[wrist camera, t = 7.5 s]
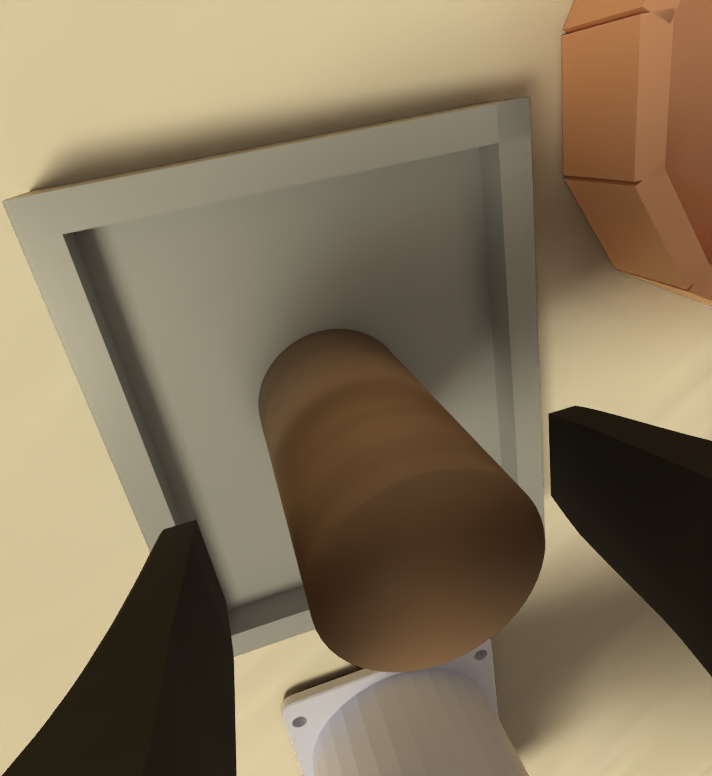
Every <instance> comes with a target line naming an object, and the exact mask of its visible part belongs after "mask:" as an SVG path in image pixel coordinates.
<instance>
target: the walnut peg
mask: <svg viewBox="0 0 712 776" xmlns="http://www.w3.org/2000/svg"><path fill="white" fill-rule="evenodd" d="M258 408H259V416H260V421H261V425H262V429H263V433H264V437H265V440H266V444H267V448H268V452H269V456H270V460H271V464H272V468H273V471H274V475H275V479H276V483H277V487H278V491H279V495H280V498H281V502H282V506H283V510H284V514H285V518H286V522H287V526H288V529H289V533H290V537H291V541H292V545H293V549H294V553H295V557H296V560H297V564H298V568H299V572H300V576H301V580H302V584H303V587H304V591H305V595H306V599H307V603H308V607H309V611H310V615H311V618H312V621H313V624H314V626H315V629H316V631H317V633H318V634H319V636H320V638H321V640H322V641H323V642H324V643H325V644H326V645H327V647H328V648H329V649H330V650H331V651H333V652H334V653H335V654H336V655H337V656H339V657H340V658H342V659H344V660H345V661H347V662H349V663H351V664H354V665H356V666H359V667H361V668H365V669H369V670H373V671H380V672H410V671H417V670H422V669H427V668H431V667H434V666H438V665H441V664H444V663H447V662H449V661H452V660H454V659H456V658H459V657H461V656H463V655H464V654H466V653H468V652H470V651H472V650H474V649H475V648H477V647H478V646H480V645H482V644H483V643H485V642H486V641H487V640H489V639H490V638H491V637H492V636H494V635H495V634H496V633H497V632H498V631H500V630H501V629H502V628H503V627H504V626H505V625H506V624H507V623H508V622H509V621H510V620H511V619H512V618H513V617H514V616H515V614H516V613H517V612H518V611H519V609H520V608H521V607H522V605H523V604H524V603H525V601H526V600H527V598H528V596H529V595H530V593H531V591H532V590H533V587H534V585H535V583H536V581H537V579H538V576H539V573H540V570H541V567H542V563H543V558H544V553H545V533H544V527H543V523H542V519H541V516H540V514H539V512H538V510H537V507H536V506H535V504H534V503H533V501H532V500H531V499H530V497H529V496H528V495H527V494H526V493H525V492H524V491H523V490H522V489H521V488H520V487H519V485H518V484H517V483H516V482H515V481H514V480H513V479H512V478H511V477H510V476H509V475H508V474H507V473H506V472H505V471H504V470H503V469H502V468H501V467H500V466H499V465H498V463H497V462H496V461H495V460H494V459H493V458H492V457H491V456H490V455H489V454H488V453H487V452H486V451H485V450H484V449H483V448H482V447H481V446H480V445H479V444H478V443H477V441H476V440H475V439H474V438H473V437H472V436H471V435H470V434H469V433H468V432H467V431H466V430H465V429H464V428H463V427H462V426H461V425H460V424H459V423H458V422H457V421H456V419H455V418H454V417H453V416H452V415H451V414H450V413H449V412H448V411H447V410H446V409H445V408H444V407H443V406H442V405H441V404H440V403H439V402H438V401H437V400H436V399H435V397H434V396H433V395H432V394H431V393H430V392H429V391H428V390H427V389H426V388H425V387H424V386H423V385H422V384H421V383H420V382H419V381H418V380H417V379H416V378H415V377H414V375H413V374H412V373H411V372H410V371H409V370H408V369H407V368H406V367H405V366H404V365H403V364H402V363H401V362H400V361H399V360H398V359H397V358H396V357H395V356H394V355H393V353H392V352H391V351H390V350H389V349H388V348H387V347H386V346H385V345H384V344H382V343H381V342H379V341H378V340H377V339H375V338H373V337H371V336H369V335H367V334H365V333H362V332H359V331H354V330H349V329H329V330H323V331H318V332H315V333H312V334H309V335H307V336H305V337H303V338H300V339H299V340H297V341H296V342H294V343H292V344H291V345H290V346H288V347H287V348H286V349H285V350H283V351H282V352H281V353H280V354H279V355H278V356H277V358H276V359H275V360H274V361H273V363H272V364H271V365H270V367H269V369H268V371H267V372H266V374H265V376H264V379H263V381H262V384H261V388H260V392H259V400H258Z"/></svg>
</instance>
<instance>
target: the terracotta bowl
mask: <svg viewBox="0 0 712 776" xmlns="http://www.w3.org/2000/svg"><path fill="white" fill-rule="evenodd" d="M563 30H564V31H566V32H568V33H569V34H566V35H562V90H563V173H564V175H568V177H567V178H566V179H565V181H566V183H567V185H568V186H569V188H570V190H571V192H572V193H573V195H574V197H575V199H576V201H577V202H578V204H579V206H580V208H581V209H582V211H583V213H584V215H585V216H586V218H587V220H588V222H589V223H590V225H591V227H592V229H593V230H594V232H595V234H596V236H597V237H598V239H599V241H600V243H601V244H602V246H603V248H604V250H605V252H606V253H607V255H608V257H609V259H610V260H611V262H612V264H613V266H614V267H615V268H617V269H618V271H621V272H623V273H626V274H629V275H631V276H634V277H636V278H639V279H641V280H644V281H647V282H649V283H652V284H654V285H657V286H659V287H662V288H665V289H667V290H670V291H672V292H675V293H677V294H680V295H683V296H685V297H688V298H690V299H693V300H696V301H699V302H702V303H705V304H708V305H711V306H712V0H575V1H574V3H573V6H572V8H571V11H570V13H569V16H568V18H567V21H566V23H565V26H564V28H563Z"/></svg>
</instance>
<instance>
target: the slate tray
mask: <svg viewBox="0 0 712 776" xmlns="http://www.w3.org/2000/svg"><path fill="white" fill-rule="evenodd" d="M2 203H3V205H4V208H5V210H6V213H7V215H8V217H9V220H10V222H11V224H12V227H13V229H14V231H15V234H16V236H17V239H18V241H19V243H20V246H21V248H22V250H23V253H24V255H25V257H26V260H27V262H28V265H29V267H30V269H31V272H32V274H33V276H34V279H35V281H36V283H37V286H38V288H39V291H40V293H41V295H42V298H43V300H44V302H45V305H46V307H47V309H48V312H49V314H50V317H51V319H52V321H53V324H54V326H55V328H56V331H57V333H58V335H59V338H60V340H61V343H62V345H63V347H64V350H65V352H66V354H67V357H68V359H69V361H70V364H71V366H72V369H73V371H74V373H75V376H76V378H77V380H78V383H79V385H80V387H81V390H82V392H83V395H84V397H85V399H86V402H87V404H88V406H89V409H90V411H91V413H92V416H93V418H94V421H95V423H96V425H97V428H98V430H99V432H100V435H101V437H102V439H103V442H104V444H105V446H106V449H107V451H108V454H109V456H110V458H111V461H112V463H113V465H114V468H115V470H116V472H117V475H118V477H119V480H120V482H121V484H122V487H123V489H124V491H125V494H126V496H127V498H128V501H129V503H130V506H131V508H132V510H133V513H134V515H135V517H136V520H137V522H138V524H139V527H140V529H141V532H142V534H143V536H144V539H145V541H146V543H147V546H148V548H149V550H150V552H151V550H152V548H153V546H154V544H155V543H156V541H157V539H158V537H159V535H160V533H161V532H162V530H163V529H166V528H170V527H173V526H176V525H180V524H183V523H186V522H190V521H193V520H197V523H198V526H199V528H200V531H201V534H202V537H203V539H204V542H205V545H206V548H207V550H208V553H209V556H210V559H211V561H212V564H213V567H214V569H215V572H216V575H217V578H218V580H219V583H220V586H221V589H222V591H223V594H224V597H225V600H226V604H227V610H228V617H229V624H230V630H231V638H232V645H233V654H234V657H235V656H238V655H241V654H244V653H247V652H250V651H252V650H255V649H258V648H261V647H264V646H267V645H270V644H273V643H276V642H279V641H282V640H285V639H287V638H290V637H293V636H296V635H299V634H302V633H305V632H308V631H311V630H314V629H315V626H314V624H313V621H312V618H311V615H310V611H309V607H308V603H307V599H306V595H305V591H304V587H303V584H302V580H301V576H300V572H299V568H298V564H297V560H296V557H295V553H294V549H293V545H292V541H291V537H290V533H289V529H288V526H287V522H286V518H285V514H284V510H283V506H282V502H281V498H280V495H279V491H278V487H277V483H276V479H275V475H274V471H273V468H272V464H271V460H270V456H269V452H268V448H267V444H266V440H265V437H264V433H263V429H262V425H261V421H260V416H259V408H258V400H259V392H260V388H261V384H262V381H263V379H264V376H265V374H266V372H267V371H268V369H269V367H270V365H271V364H272V363H273V361H274V360H275V359H276V358H277V356H278V355H279V354H280V353H281V352H282V351H283V350H285V349H286V348H287V347H288V346H290V345H291V344H292V343H294V342H296V341H297V340H299V339H300V338H303V337H305V336H307V335H309V334H312V333H315V332H318V331H323V330H329V329H349V330H354V331H359V332H362V333H365V334H367V335H369V336H371V337H373V338H375V339H377V340H378V341H379V342H381V343H382V344H384V345H385V346H386V347H387V348H388V349H389V350H390V351H391V352H392V353H393V355H394V356H395V357H396V358H397V359H398V360H399V361H400V362H401V363H402V364H403V365H404V366H405V367H406V368H407V369H408V370H409V371H410V372H411V373H412V374H413V375H414V377H415V378H416V379H417V380H418V381H419V382H420V383H421V384H422V385H423V386H424V387H425V388H426V389H427V390H428V391H429V392H430V393H431V394H432V395H433V396H434V397H435V399H436V400H437V401H438V402H439V403H440V404H441V405H442V406H443V407H444V408H445V409H446V410H447V411H448V412H449V413H450V414H451V415H452V416H453V417H454V418H455V419H456V421H457V422H458V423H459V424H460V425H461V426H462V427H463V428H464V429H465V430H466V431H467V432H468V433H469V434H470V435H471V436H472V437H473V438H474V439H475V440H476V441H477V443H478V444H479V445H480V446H481V447H482V448H483V449H484V450H485V451H486V452H487V453H488V454H489V455H490V456H491V457H492V458H493V459H494V460H495V461H496V462H497V463H498V465H499V466H500V467H501V468H502V469H503V470H504V471H505V472H506V473H507V474H508V475H509V476H510V477H511V478H512V479H513V480H514V481H515V482H516V483H517V484H518V485H519V487H520V488H521V489H522V490H523V491H524V492H525V493H526V494H527V495H528V496H529V497H530V499H531V500H532V501H533V503H534V504H535V506H536V507H537V510H538V512H539V514H540V516H541V519H542V523H543V527H544V533H545V526H544V497H543V468H542V439H541V410H540V381H539V352H538V323H537V294H536V265H535V236H534V207H533V178H532V149H531V120H530V97H524V98H516V99H508V100H499V101H491V102H485V103H480V104H475V105H469V106H464V107H459V108H454V109H449V110H444V111H439V112H434V113H429V114H424V115H419V116H414V117H408V118H403V119H398V120H393V121H388V122H383V123H378V124H373V125H368V126H363V127H358V128H352V129H347V130H342V131H337V132H332V133H327V134H322V135H317V136H312V137H307V138H302V139H296V140H291V141H286V142H281V143H276V144H271V145H266V146H261V147H256V148H251V149H246V150H240V151H235V152H230V153H225V154H220V155H215V156H210V157H205V158H200V159H195V160H190V161H184V162H179V163H174V164H169V165H164V166H159V167H154V168H149V169H144V170H139V171H134V172H128V173H123V174H118V175H113V176H108V177H103V178H98V179H93V180H88V181H83V182H78V183H72V184H67V185H62V186H57V187H52V188H47V189H42V190H37V191H32V192H27V193H24V194H21V195H18V196H15V197H12V198H9V199H6V200H3V201H2Z"/></svg>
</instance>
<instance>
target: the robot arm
mask: <svg viewBox="0 0 712 776" xmlns="http://www.w3.org/2000/svg"><path fill="white" fill-rule="evenodd" d="M549 445H550V477H551V496H552V497H553V499H554V500H555V502H556V503H557V504H558V506H559V507H560V509H561V510H562V511H563V513H564V514H565V516H566V517H567V518H568V520H569V521H570V522H571V523H572V525H573V526H574V527H575V529H576V530H577V531H578V532H579V534H580V535H581V536H582V537H583V538H584V539H585V540H586V541H587V542H588V543H589V544H590V545H591V546H592V547H593V548H594V549H595V550H596V551H597V553H598V554H599V555H600V556H601V557H602V558H603V559H604V560H605V561H606V562H607V563H608V564H609V565H610V566H611V567H612V568H613V569H614V570H615V571H616V572H617V573H618V574H619V575H620V576H621V577H622V578H623V579H624V580H625V581H626V582H627V583H628V584H629V585H630V586H631V587H632V588H633V589H634V590H635V591H636V592H637V593H638V594H639V595H640V596H641V597H642V598H643V599H644V600H645V601H646V602H647V603H648V604H649V605H650V606H651V607H652V608H653V609H654V610H655V611H656V612H657V613H658V614H659V615H660V616H661V617H662V618H663V620H664V621H665V622H666V623H667V624H668V625H669V626H670V627H671V628H672V629H673V630H674V632H675V633H676V634H677V635H678V636H679V637H680V638H681V640H682V641H683V642H684V643H685V644H686V646H687V647H688V648H689V649H690V651H691V652H692V653H693V654H694V655H695V657H696V658H697V659H698V660H699V662H700V663H701V664H702V665H703V667H704V668H705V669H706V670H707V671H708V673H709V674H710V675H711V676H712V441H710V440H706V439H702V438H698V437H694V436H690V435H686V434H683V433H679V432H675V431H671V430H668V429H664V428H660V427H657V426H653V425H650V424H646V423H642V422H639V421H635V420H632V419H628V418H624V417H621V416H617V415H614V414H610V413H606V412H602V411H598V410H594V409H590V408H585V407H579V406H573V407H569V408H566V409H563V410H559V411H556V412H553V413H549ZM281 711H282V717H283V720H284V723H285V726H286V729H287V731H288V734H289V737H290V740H291V743H292V746H293V749H294V751H295V754H296V757H297V760H298V763H299V766H300V769H301V771H302V774H303V776H529V775H528V773H527V771H526V769H525V767H524V765H523V764H522V762H521V760H520V758H519V756H518V754H517V752H516V751H515V749H514V747H513V745H512V743H511V741H510V739H509V737H508V736H507V734H506V732H505V730H504V728H503V726H502V724H501V723H500V721H499V715H498V705H497V695H496V684H495V674H494V663H493V653H492V643H491V638H490V639H489V640H487V641H486V642H485V643H483V644H482V645H480V646H478V647H477V648H475V649H474V650H472V651H470V652H468V653H466V654H464V655H463V656H461V657H459V658H456V659H454V660H452V661H449V662H447V663H444V664H441V665H438V666H434V667H431V668H427V669H422V670H417V671H410V672H380V671H373V670H369V669H362V670H359V671H357V672H354V673H351V674H348V675H345V676H343V677H340V678H337V679H334V680H332V681H329V682H326V683H323V684H320V685H318V686H315V687H312V688H309V689H307V690H304V691H301V692H298V693H295V694H293V695H291V696H289V697H287V698H286V699H285V700H284V701H283V702H282V704H281ZM2 776H236V734H235V689H234V654H233V645H232V638H231V630H230V624H229V617H228V610H227V604H226V600H225V597H224V594H223V591H222V589H221V586H220V583H219V580H218V578H217V575H216V572H215V569H214V567H213V564H212V561H211V559H210V556H209V553H208V550H207V548H206V545H205V542H204V539H203V537H202V534H201V531H200V528H199V526H198V523H197V520H193V521H190V522H186V523H183V524H180V525H176V526H173V527H170V528H166V529H163V530H162V532H161V533H160V535H159V537H158V539H157V541H156V543H155V544H154V546H153V548H152V550H151V552H150V555H149V556H148V558H147V560H146V562H145V564H144V566H143V568H142V570H141V572H140V574H139V576H138V578H137V580H136V582H135V584H134V586H133V588H132V589H131V591H130V593H129V595H128V597H127V598H126V600H125V602H124V604H123V606H122V607H121V609H120V611H119V613H118V615H117V616H116V618H115V620H114V622H113V623H112V625H111V627H110V628H109V630H108V632H107V633H106V635H105V636H104V638H103V640H102V641H101V643H100V644H99V646H98V648H97V649H96V651H95V652H94V654H93V656H92V657H91V659H90V661H89V662H88V664H87V665H86V667H85V668H84V670H83V671H82V673H81V674H80V676H79V677H78V679H77V680H76V682H75V683H74V685H73V686H72V688H71V689H70V690H69V692H68V693H67V695H66V696H65V697H64V699H63V700H62V701H61V703H60V704H59V705H58V707H57V708H56V709H55V711H54V712H53V713H52V715H51V716H50V718H49V719H48V720H47V722H46V723H45V724H44V725H43V727H42V728H41V729H40V731H39V732H38V733H37V734H36V736H35V737H34V738H33V739H32V740H31V742H30V743H29V744H28V745H27V746H26V747H25V749H24V750H23V751H22V752H21V753H20V755H19V756H18V757H17V758H16V759H15V761H14V762H13V763H12V764H11V765H10V767H9V768H8V769H7V770H6V771H5V772H4V774H3V775H2Z"/></svg>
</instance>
